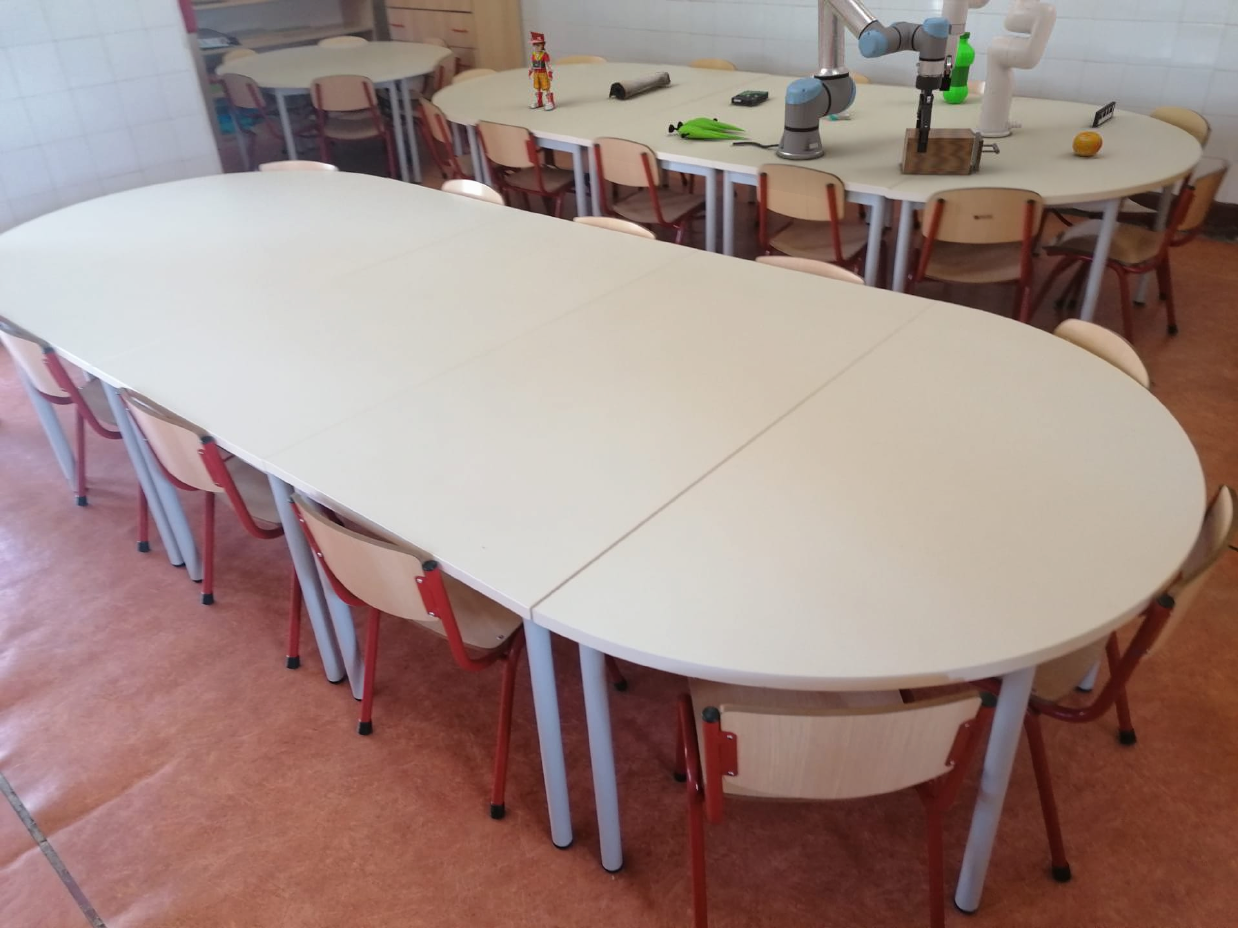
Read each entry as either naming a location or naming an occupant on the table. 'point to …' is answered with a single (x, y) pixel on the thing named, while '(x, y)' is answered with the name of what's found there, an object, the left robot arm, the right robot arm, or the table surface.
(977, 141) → the drawer
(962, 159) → the cabinet
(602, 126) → the table surface
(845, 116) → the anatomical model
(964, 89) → the plastic bottle
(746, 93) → the disk drive
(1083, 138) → the fruit
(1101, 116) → the midi keyboard
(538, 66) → the toy
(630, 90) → the rolled mat
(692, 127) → the toy
